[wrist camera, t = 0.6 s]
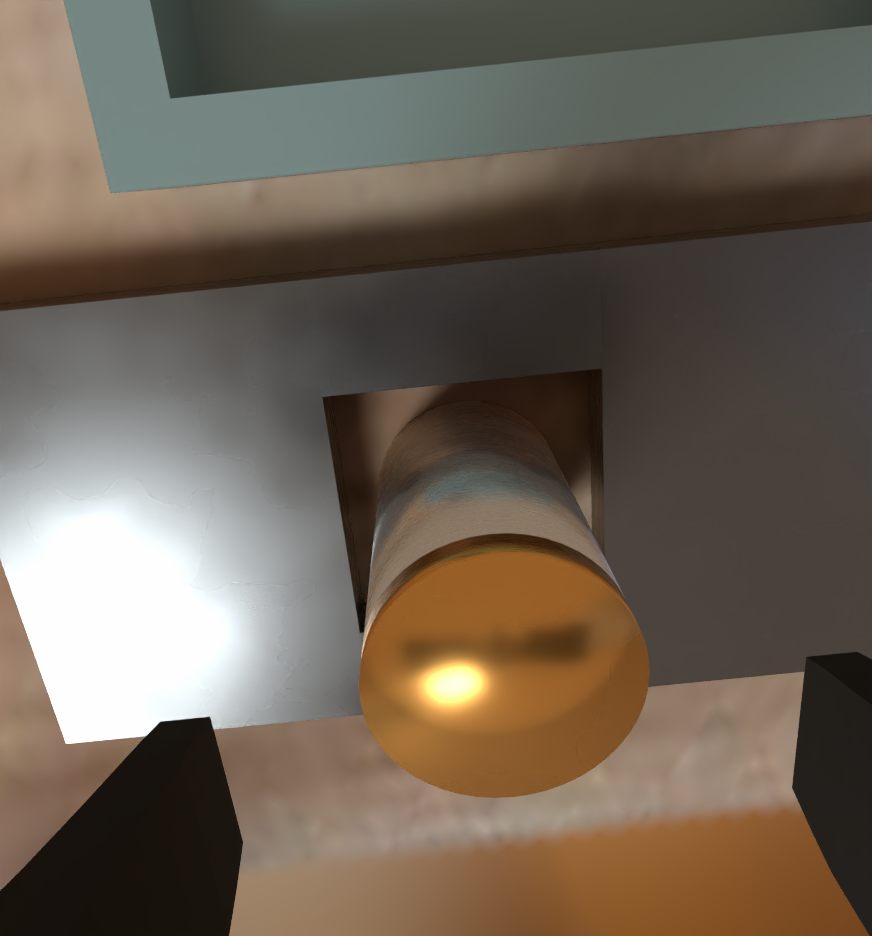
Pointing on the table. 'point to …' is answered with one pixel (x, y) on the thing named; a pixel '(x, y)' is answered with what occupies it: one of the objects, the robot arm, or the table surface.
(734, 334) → the bracket
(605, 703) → the orange-capped cylinder
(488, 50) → the tray
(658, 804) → the table surface
